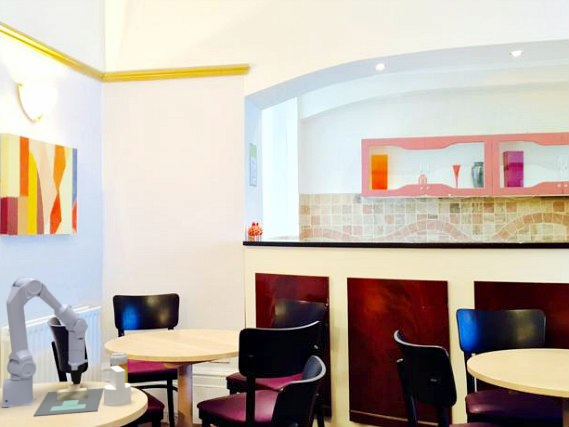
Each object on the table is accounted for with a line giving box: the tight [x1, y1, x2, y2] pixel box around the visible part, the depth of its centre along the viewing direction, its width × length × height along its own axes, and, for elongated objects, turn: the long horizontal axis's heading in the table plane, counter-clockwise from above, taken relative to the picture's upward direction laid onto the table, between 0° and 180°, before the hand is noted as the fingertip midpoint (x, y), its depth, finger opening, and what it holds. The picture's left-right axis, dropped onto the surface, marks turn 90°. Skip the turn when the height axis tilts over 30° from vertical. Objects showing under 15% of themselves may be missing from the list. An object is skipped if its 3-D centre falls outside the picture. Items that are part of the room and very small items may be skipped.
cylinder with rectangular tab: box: [103, 366, 132, 407], centre depth 201 cm, size 9×9×12 cm
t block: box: [56, 383, 89, 401], centre depth 209 cm, size 10×10×3 cm
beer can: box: [109, 351, 129, 383], centre depth 212 cm, size 6×6×15 cm
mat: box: [33, 387, 104, 418], centre depth 203 cm, size 20×28×1 cm
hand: (76, 385), depth 218 cm, fingers closed
